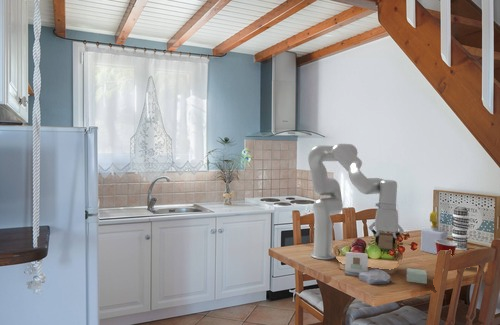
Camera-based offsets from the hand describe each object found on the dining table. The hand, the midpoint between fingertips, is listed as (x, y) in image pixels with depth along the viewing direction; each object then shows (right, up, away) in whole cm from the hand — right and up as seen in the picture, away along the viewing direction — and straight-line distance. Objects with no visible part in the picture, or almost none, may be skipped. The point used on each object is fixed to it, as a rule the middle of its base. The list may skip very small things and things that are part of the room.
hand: (385, 244), depth 183 cm
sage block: (+12, -15, -5) cm, 20 cm away
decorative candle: (+64, -14, +55) cm, 86 cm away
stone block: (-7, -15, -8) cm, 18 cm away
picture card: (-13, -14, +1) cm, 19 cm away
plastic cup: (+38, -15, +20) cm, 46 cm away
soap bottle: (+43, -14, +44) cm, 63 cm away
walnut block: (0, -1, 0) cm, 1 cm away
